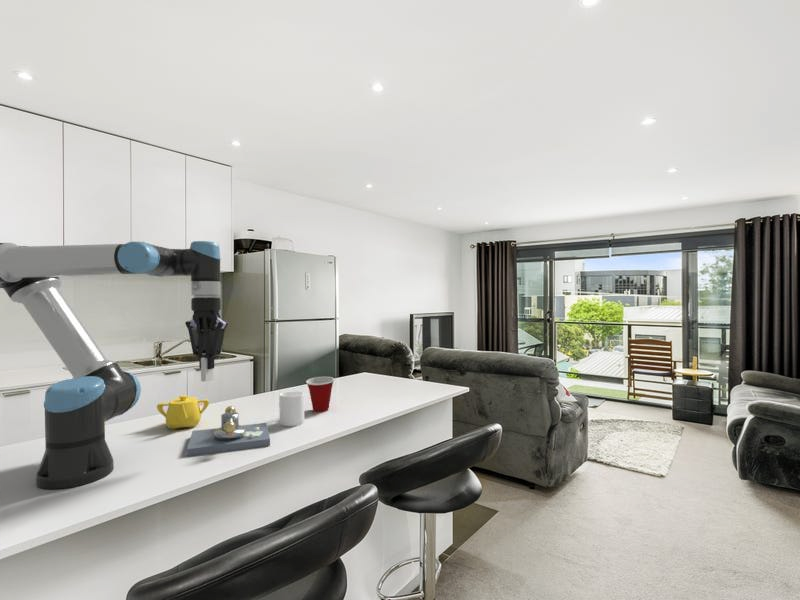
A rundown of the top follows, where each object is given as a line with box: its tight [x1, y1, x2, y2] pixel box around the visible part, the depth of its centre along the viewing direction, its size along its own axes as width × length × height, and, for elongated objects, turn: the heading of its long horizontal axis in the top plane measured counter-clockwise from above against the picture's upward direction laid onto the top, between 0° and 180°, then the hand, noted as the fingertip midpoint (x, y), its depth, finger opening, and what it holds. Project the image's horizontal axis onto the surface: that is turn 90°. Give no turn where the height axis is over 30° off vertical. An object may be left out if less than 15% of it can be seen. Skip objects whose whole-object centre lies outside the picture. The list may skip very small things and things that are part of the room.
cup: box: [278, 390, 305, 427], centre depth 148 cm, size 8×12×10 cm
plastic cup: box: [305, 376, 335, 413], centre depth 163 cm, size 11×11×12 cm
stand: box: [186, 422, 271, 457], centre depth 129 cm, size 22×17×3 cm
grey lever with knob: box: [214, 405, 246, 440], centre depth 128 cm, size 21×9×6 cm, turn 21°
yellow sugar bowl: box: [156, 394, 210, 430], centre depth 145 cm, size 14×13×10 cm
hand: (207, 380), depth 119 cm, fingers closed
